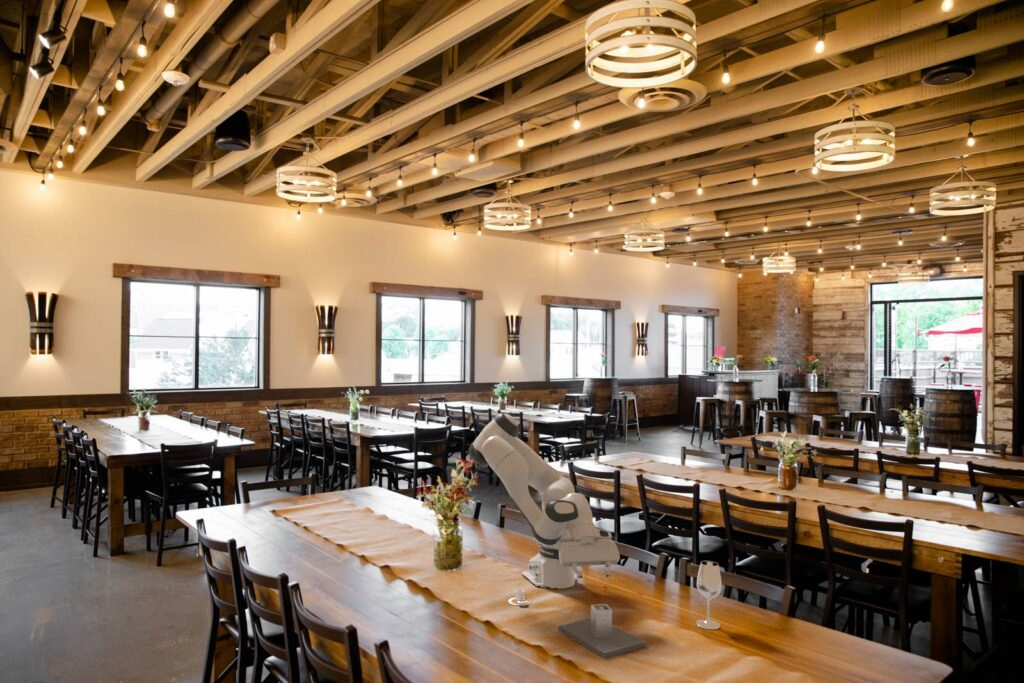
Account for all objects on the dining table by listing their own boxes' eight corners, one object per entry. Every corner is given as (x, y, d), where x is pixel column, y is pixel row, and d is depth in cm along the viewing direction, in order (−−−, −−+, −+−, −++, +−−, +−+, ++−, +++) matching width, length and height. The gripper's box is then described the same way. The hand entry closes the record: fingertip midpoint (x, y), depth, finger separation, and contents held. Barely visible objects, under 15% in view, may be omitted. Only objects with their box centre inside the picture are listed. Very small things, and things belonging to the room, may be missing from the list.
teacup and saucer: (528, 609, 229) (528, 597, 229) (505, 606, 230) (505, 594, 230) (532, 600, 237) (533, 588, 237) (510, 597, 239) (511, 586, 239)
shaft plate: (558, 630, 210) (559, 599, 210) (597, 621, 219) (598, 591, 219) (604, 658, 192) (605, 624, 192) (645, 646, 200) (646, 614, 201)
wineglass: (703, 630, 214) (705, 567, 214) (691, 621, 221) (692, 560, 222) (725, 628, 216) (726, 566, 216) (711, 619, 223) (713, 559, 224)
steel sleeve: (590, 630, 207) (591, 604, 207) (605, 629, 208) (606, 604, 208) (595, 637, 202) (596, 610, 203) (611, 636, 203) (612, 610, 204)
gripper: (557, 534, 221) (565, 573, 212) (615, 532, 226) (626, 570, 216) (553, 544, 226) (560, 583, 216) (610, 541, 230) (620, 579, 220)
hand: (594, 576), depth 216 cm, fingers open, 8 cm apart
